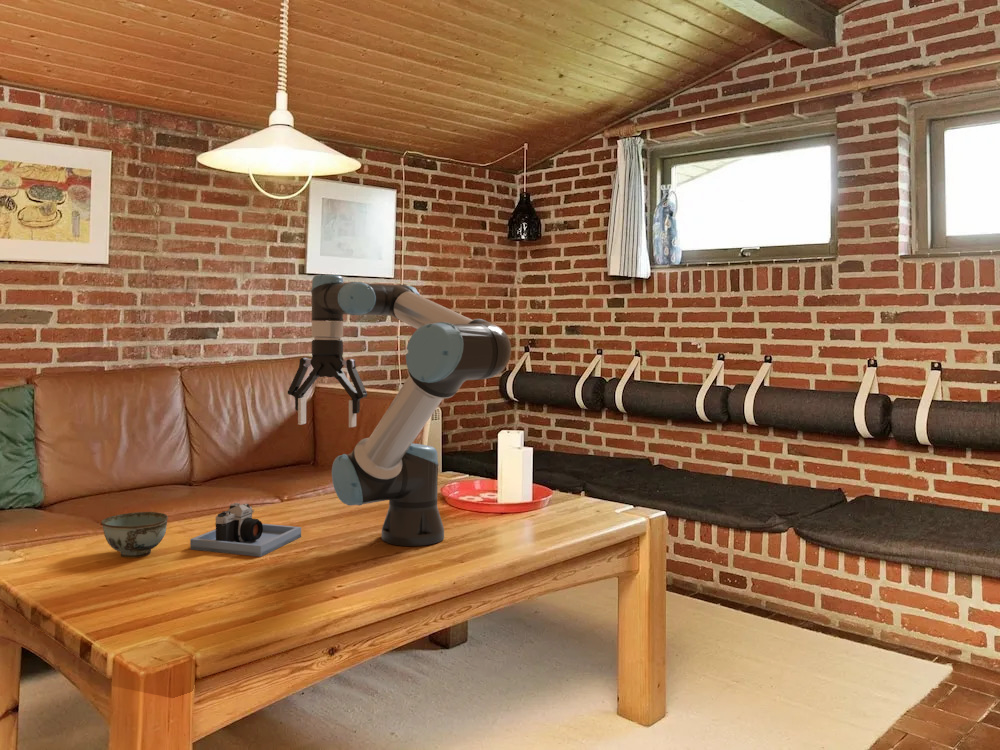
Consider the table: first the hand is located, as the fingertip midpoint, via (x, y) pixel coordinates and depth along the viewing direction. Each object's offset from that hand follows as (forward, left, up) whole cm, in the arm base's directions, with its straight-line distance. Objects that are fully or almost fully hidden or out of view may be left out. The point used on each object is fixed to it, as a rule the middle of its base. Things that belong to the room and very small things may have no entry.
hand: (327, 425), depth 203 cm
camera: (+14, +16, -26) cm, 33 cm away
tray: (+13, +14, -27) cm, 33 cm away
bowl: (+31, +30, -27) cm, 51 cm away
